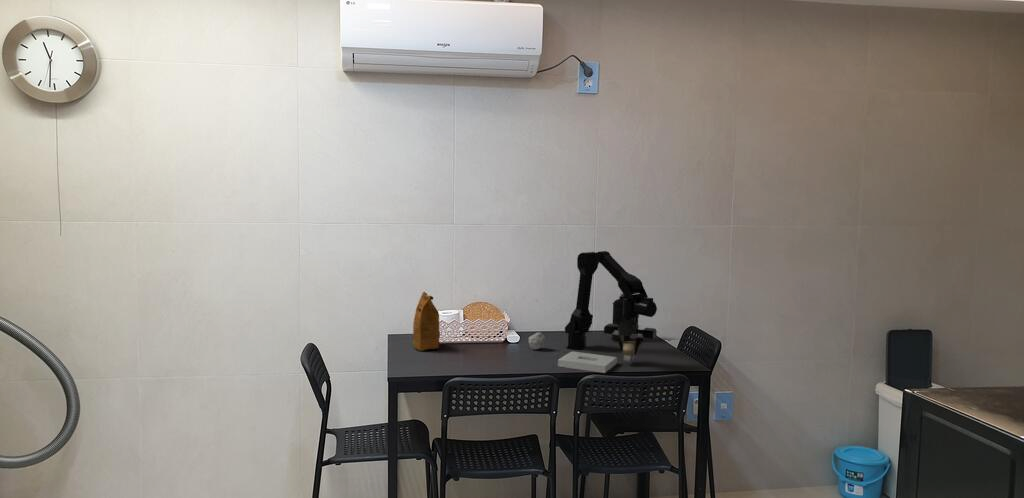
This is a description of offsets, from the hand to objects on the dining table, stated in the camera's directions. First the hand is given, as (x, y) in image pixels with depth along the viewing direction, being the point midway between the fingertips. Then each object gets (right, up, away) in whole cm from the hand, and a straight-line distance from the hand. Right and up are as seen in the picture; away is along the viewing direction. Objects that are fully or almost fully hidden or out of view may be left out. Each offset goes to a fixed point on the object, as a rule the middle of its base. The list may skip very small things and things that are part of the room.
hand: (629, 353), depth 267 cm
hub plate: (-16, -4, -2) cm, 16 cm away
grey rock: (-34, -2, +20) cm, 39 cm away
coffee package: (-78, -1, +20) cm, 81 cm away
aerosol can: (+3, 0, +39) cm, 39 cm away
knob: (0, -2, 0) cm, 2 cm away
